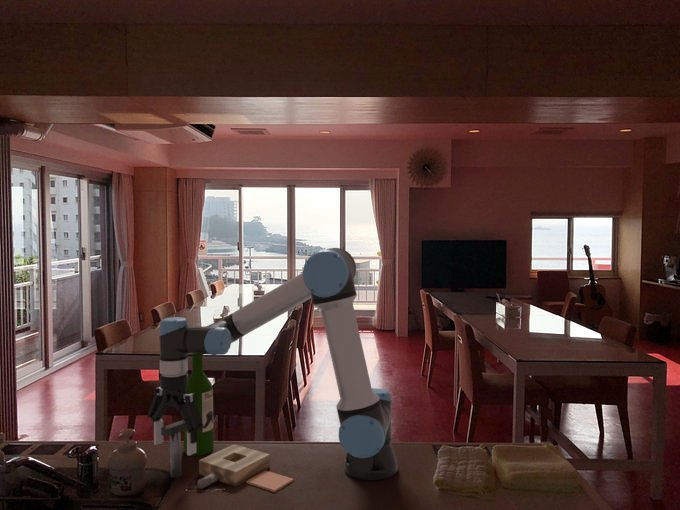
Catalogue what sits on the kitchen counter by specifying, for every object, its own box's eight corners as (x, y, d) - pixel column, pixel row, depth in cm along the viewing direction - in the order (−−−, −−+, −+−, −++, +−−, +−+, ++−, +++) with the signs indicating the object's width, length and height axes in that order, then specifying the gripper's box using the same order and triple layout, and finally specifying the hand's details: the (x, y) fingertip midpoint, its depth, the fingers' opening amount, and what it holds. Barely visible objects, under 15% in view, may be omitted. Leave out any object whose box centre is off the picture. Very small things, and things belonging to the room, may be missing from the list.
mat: (293, 481, 156) (293, 478, 156) (274, 492, 150) (274, 490, 150) (265, 472, 162) (265, 470, 162) (246, 483, 155) (246, 481, 155)
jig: (269, 467, 165) (269, 454, 165) (219, 495, 148) (219, 480, 148) (234, 457, 173) (233, 444, 172) (182, 482, 156) (182, 467, 156)
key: (190, 471, 163) (189, 421, 162) (168, 481, 156) (167, 429, 156) (182, 469, 164) (181, 419, 164) (161, 479, 158) (160, 427, 157)
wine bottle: (204, 457, 173) (202, 350, 171) (178, 454, 175) (176, 349, 173) (218, 446, 181) (217, 344, 179) (193, 443, 184) (191, 343, 182)
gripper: (216, 377, 155) (216, 453, 156) (155, 364, 169) (156, 435, 170) (195, 383, 149) (195, 463, 150) (133, 370, 162) (135, 443, 164)
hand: (174, 448), depth 160 cm, fingers open, 13 cm apart
